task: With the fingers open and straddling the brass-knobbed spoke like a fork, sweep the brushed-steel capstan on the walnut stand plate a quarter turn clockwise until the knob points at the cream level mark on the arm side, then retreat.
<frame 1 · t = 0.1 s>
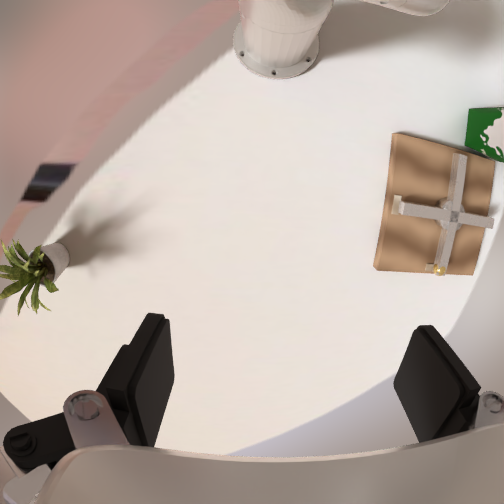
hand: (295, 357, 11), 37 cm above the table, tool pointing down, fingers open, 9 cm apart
stand plate: (438, 209, 45), on the table
capstan: (449, 215, 42), point 4 cm above the table, hinge at 0.0°
milk carton: (478, 133, 40), on the table
house plant: (64, 254, 49), on the table
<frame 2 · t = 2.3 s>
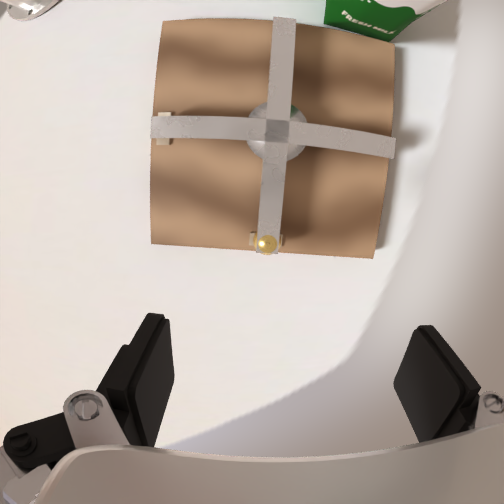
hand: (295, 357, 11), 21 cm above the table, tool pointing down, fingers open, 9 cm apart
stand plate: (273, 133, 27), on the table
capstan: (275, 134, 24), point 4 cm above the table, hinge at 0.0°
milk carton: (358, 8, 22), on the table
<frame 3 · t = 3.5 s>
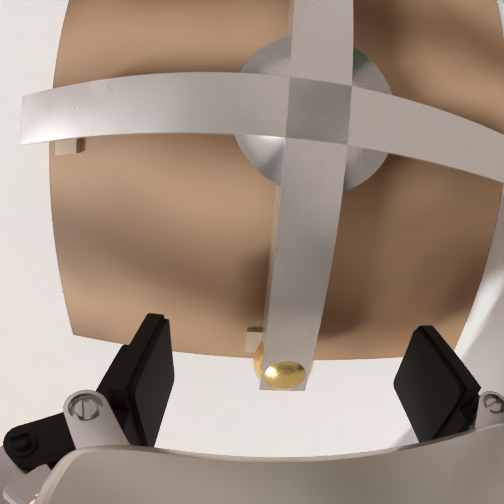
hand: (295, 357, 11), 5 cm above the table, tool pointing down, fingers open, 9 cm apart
stand plate: (295, 122, 13), on the table
capstan: (310, 120, 9), point 4 cm above the table, hinge at 0.0°
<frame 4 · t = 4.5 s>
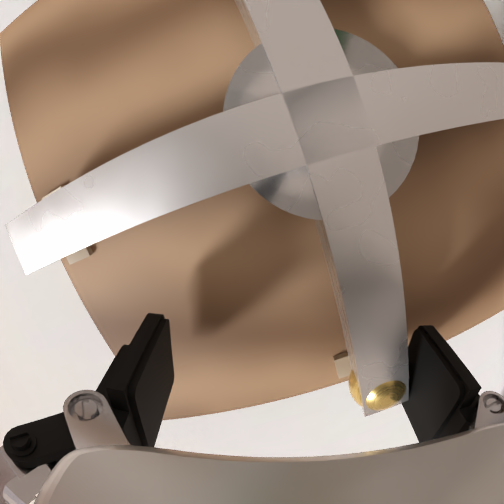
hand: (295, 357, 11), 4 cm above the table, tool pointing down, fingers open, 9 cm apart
stand plate: (300, 130, 11), on the table
capstan: (321, 129, 8), point 4 cm above the table, hinge at -0.6°, touching gripper
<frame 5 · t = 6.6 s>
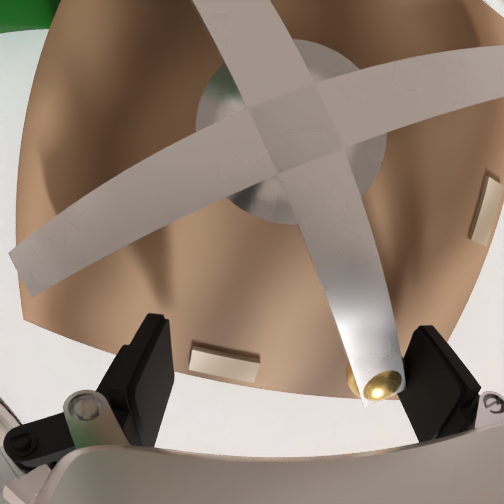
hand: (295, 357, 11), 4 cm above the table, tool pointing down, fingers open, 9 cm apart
stand plate: (278, 136, 12), on the table
capstan: (292, 137, 8), point 4 cm above the table, hinge at -52.5°, touching gripper
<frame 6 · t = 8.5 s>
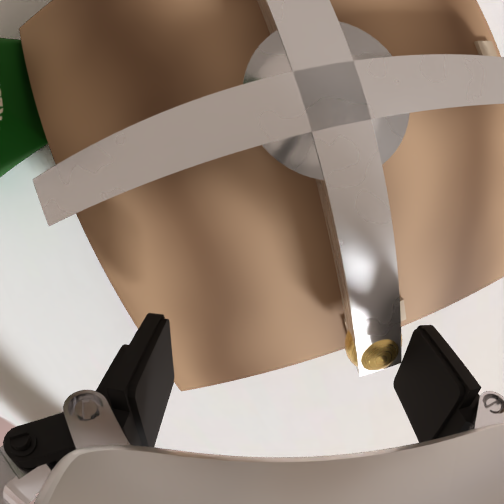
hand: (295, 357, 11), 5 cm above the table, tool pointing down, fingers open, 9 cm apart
stand plate: (306, 110, 12), on the table
capstan: (325, 106, 9), point 4 cm above the table, hinge at -94.5°, touching gripper
milk carton: (4, 117, 12), on the table
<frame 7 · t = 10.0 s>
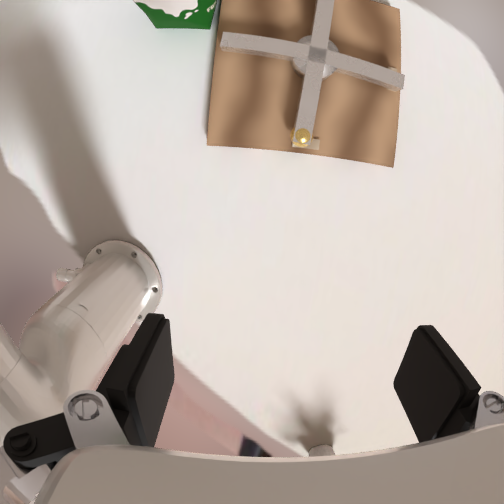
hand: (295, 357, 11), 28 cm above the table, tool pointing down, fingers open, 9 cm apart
stand plate: (309, 66, 31), on the table
capstan: (314, 59, 27), point 4 cm above the table, hinge at -95.2°
milk carton: (189, 7, 28), on the table
house plant: (320, 447, 53), on the table
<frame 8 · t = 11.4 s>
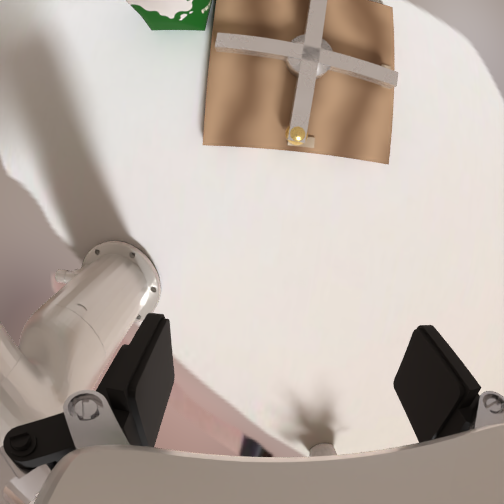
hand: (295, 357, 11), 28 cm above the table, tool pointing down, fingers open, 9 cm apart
stand plate: (303, 65, 31), on the table
capstan: (308, 58, 28), point 4 cm above the table, hinge at -95.2°
milk carton: (184, 9, 29), on the table
house plant: (321, 445, 54), on the table
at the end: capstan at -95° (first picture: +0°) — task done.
